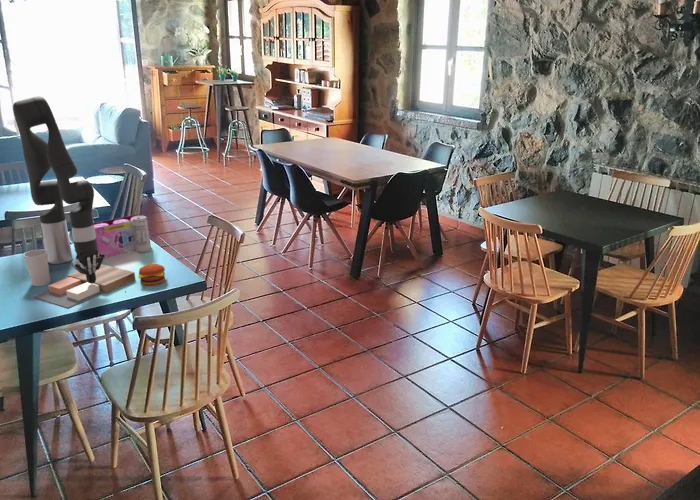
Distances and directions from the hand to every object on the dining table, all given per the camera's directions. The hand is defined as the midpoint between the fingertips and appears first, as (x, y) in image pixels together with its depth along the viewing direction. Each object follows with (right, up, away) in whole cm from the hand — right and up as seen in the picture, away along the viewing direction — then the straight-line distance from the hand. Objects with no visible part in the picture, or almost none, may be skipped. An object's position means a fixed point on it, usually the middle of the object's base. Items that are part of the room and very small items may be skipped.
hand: (91, 282), depth 217 cm
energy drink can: (+4, +11, +41) cm, 43 cm away
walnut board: (-1, 0, +10) cm, 10 cm away
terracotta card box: (-11, -2, +3) cm, 11 cm away
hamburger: (+19, 0, +10) cm, 21 cm away
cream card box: (-2, -4, -2) cm, 5 cm away
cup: (-23, -1, +9) cm, 25 cm away
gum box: (-5, +11, +42) cm, 44 cm away
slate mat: (-8, -4, -1) cm, 9 cm away
